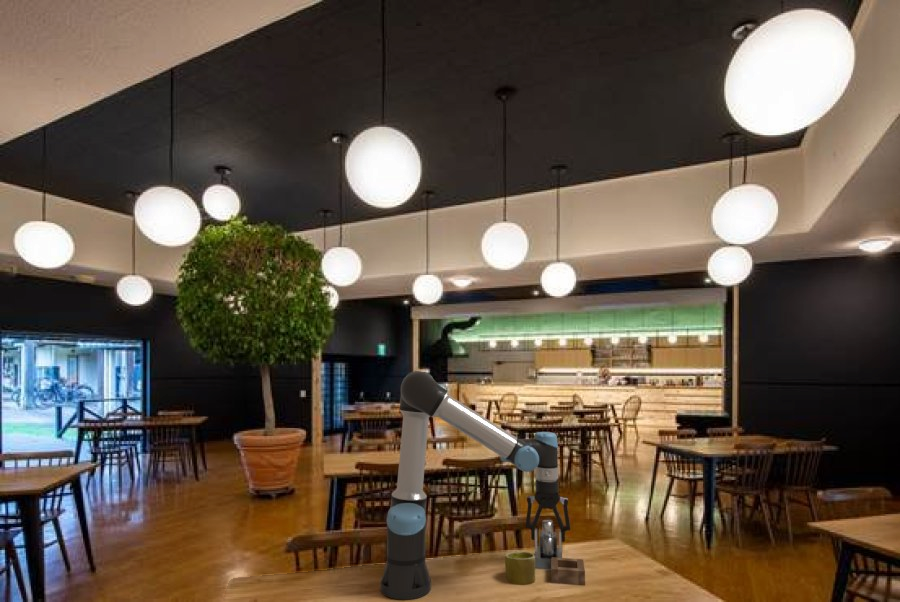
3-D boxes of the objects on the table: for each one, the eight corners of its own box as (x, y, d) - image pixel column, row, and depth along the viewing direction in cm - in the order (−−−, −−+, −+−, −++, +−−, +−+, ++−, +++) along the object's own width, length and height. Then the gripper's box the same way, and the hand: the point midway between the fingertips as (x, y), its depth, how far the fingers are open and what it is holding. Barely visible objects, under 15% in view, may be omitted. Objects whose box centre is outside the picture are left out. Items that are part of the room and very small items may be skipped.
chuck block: (534, 571, 174) (534, 542, 175) (535, 557, 186) (535, 530, 187) (562, 573, 172) (562, 544, 173) (562, 559, 184) (561, 532, 185)
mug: (540, 585, 159) (530, 549, 163) (507, 593, 161) (498, 557, 164) (544, 577, 170) (534, 544, 174) (513, 585, 172) (504, 552, 175)
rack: (551, 586, 163) (551, 568, 163) (551, 573, 172) (551, 557, 173) (585, 588, 161) (584, 571, 161) (583, 575, 171) (583, 559, 171)
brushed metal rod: (543, 566, 175) (542, 522, 177) (543, 563, 179) (542, 519, 180) (553, 567, 175) (552, 523, 176) (553, 563, 178) (552, 520, 180)
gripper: (516, 480, 178) (517, 552, 175) (578, 483, 174) (580, 557, 172) (517, 475, 185) (518, 545, 183) (577, 478, 182) (578, 549, 179)
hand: (548, 550), depth 177 cm, fingers open, 7 cm apart
